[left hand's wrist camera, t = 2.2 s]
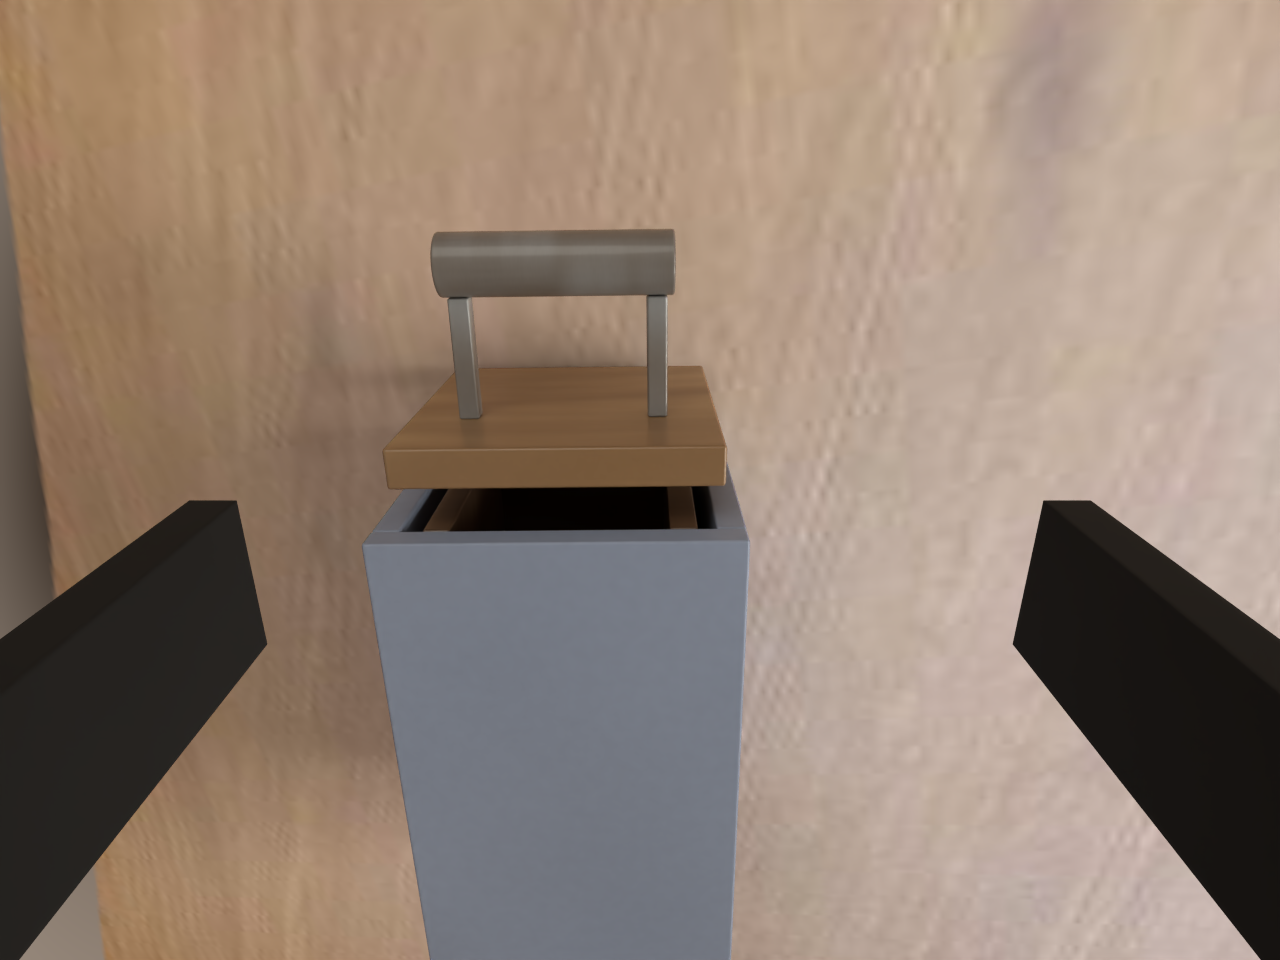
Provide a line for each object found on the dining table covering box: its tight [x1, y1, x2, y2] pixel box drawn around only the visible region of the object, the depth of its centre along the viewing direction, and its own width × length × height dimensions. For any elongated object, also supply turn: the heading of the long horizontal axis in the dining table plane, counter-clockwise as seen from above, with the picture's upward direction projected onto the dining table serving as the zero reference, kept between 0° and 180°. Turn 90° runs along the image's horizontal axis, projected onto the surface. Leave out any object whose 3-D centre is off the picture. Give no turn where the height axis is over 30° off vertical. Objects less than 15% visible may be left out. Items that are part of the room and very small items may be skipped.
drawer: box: [383, 229, 727, 532], centre depth 27 cm, size 22×9×9 cm, turn 1°
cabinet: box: [362, 464, 750, 960], centre depth 29 cm, size 18×11×11 cm, turn 1°
